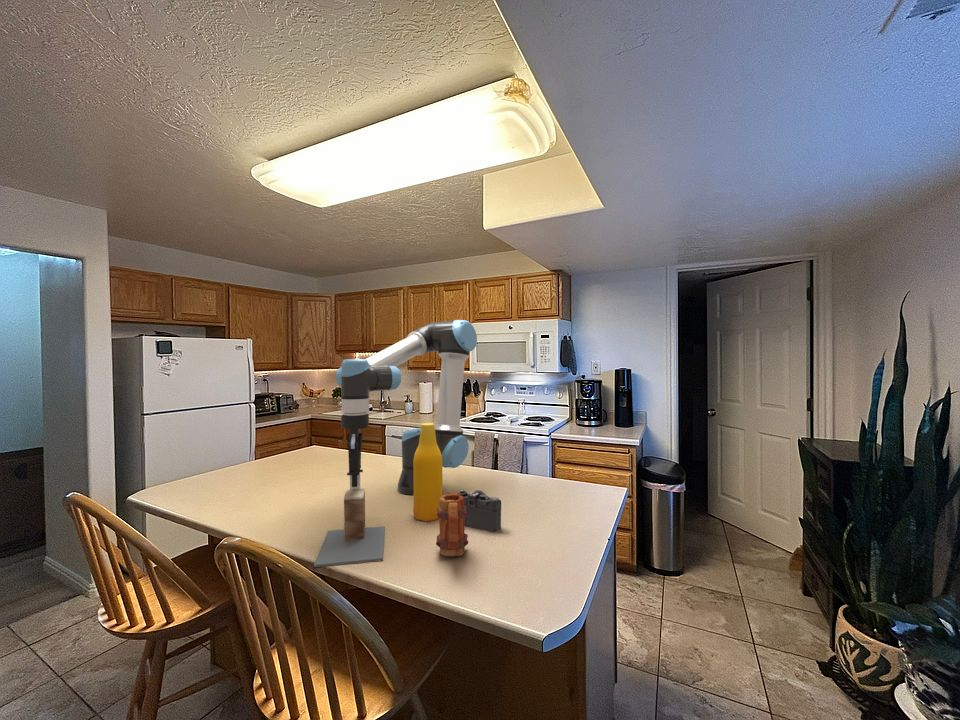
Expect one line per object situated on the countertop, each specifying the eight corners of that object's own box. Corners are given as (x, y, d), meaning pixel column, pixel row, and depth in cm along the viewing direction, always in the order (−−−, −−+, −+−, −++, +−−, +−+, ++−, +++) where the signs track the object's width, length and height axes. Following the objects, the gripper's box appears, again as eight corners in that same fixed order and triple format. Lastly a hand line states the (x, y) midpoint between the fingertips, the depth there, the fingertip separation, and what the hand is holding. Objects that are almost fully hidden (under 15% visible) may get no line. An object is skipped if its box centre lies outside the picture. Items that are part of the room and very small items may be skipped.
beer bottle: (407, 518, 127) (407, 425, 127) (422, 508, 135) (422, 421, 135) (434, 523, 123) (433, 427, 123) (447, 512, 132) (447, 422, 132)
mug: (436, 545, 109) (436, 488, 109) (467, 543, 109) (467, 487, 109) (435, 573, 94) (435, 508, 94) (470, 571, 95) (470, 507, 95)
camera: (511, 520, 125) (511, 488, 125) (496, 534, 116) (496, 498, 116) (470, 512, 132) (470, 482, 132) (453, 525, 122) (452, 491, 122)
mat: (385, 527, 120) (385, 525, 120) (382, 560, 100) (382, 558, 100) (328, 532, 117) (328, 530, 117) (313, 567, 97) (313, 564, 97)
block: (365, 528, 116) (364, 488, 115) (363, 538, 112) (363, 496, 110) (347, 530, 115) (346, 489, 114) (344, 540, 111) (343, 497, 109)
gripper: (344, 411, 121) (344, 490, 121) (337, 416, 109) (337, 505, 108) (370, 410, 123) (370, 489, 123) (366, 416, 110) (366, 503, 110)
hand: (355, 496), depth 116 cm, fingers closed
